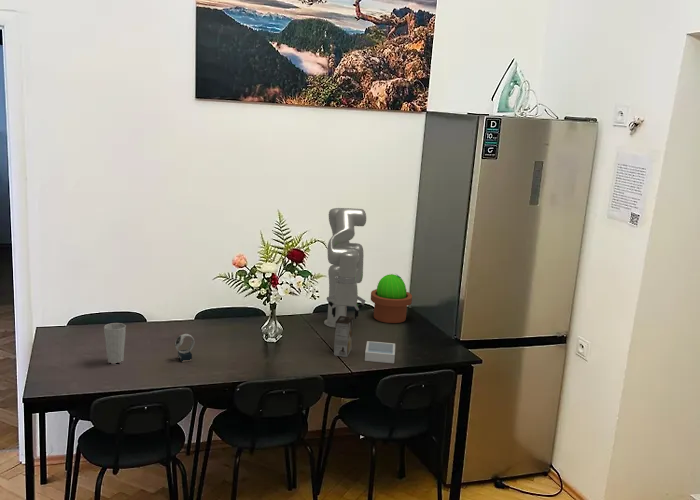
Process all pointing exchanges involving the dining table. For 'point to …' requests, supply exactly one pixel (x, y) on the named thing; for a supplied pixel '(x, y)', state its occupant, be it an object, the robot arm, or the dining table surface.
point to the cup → (115, 341)
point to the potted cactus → (391, 299)
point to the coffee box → (343, 336)
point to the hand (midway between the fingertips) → (344, 317)
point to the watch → (184, 353)
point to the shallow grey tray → (380, 352)
